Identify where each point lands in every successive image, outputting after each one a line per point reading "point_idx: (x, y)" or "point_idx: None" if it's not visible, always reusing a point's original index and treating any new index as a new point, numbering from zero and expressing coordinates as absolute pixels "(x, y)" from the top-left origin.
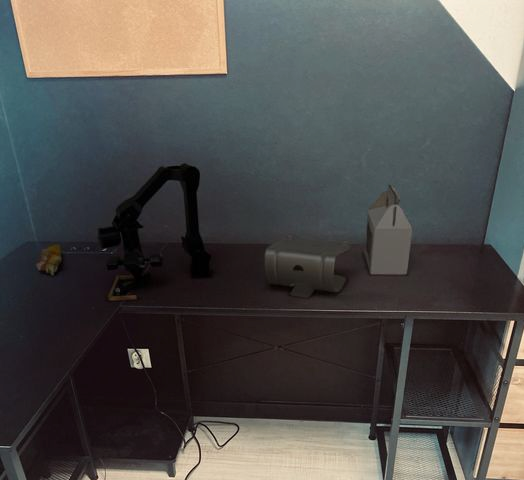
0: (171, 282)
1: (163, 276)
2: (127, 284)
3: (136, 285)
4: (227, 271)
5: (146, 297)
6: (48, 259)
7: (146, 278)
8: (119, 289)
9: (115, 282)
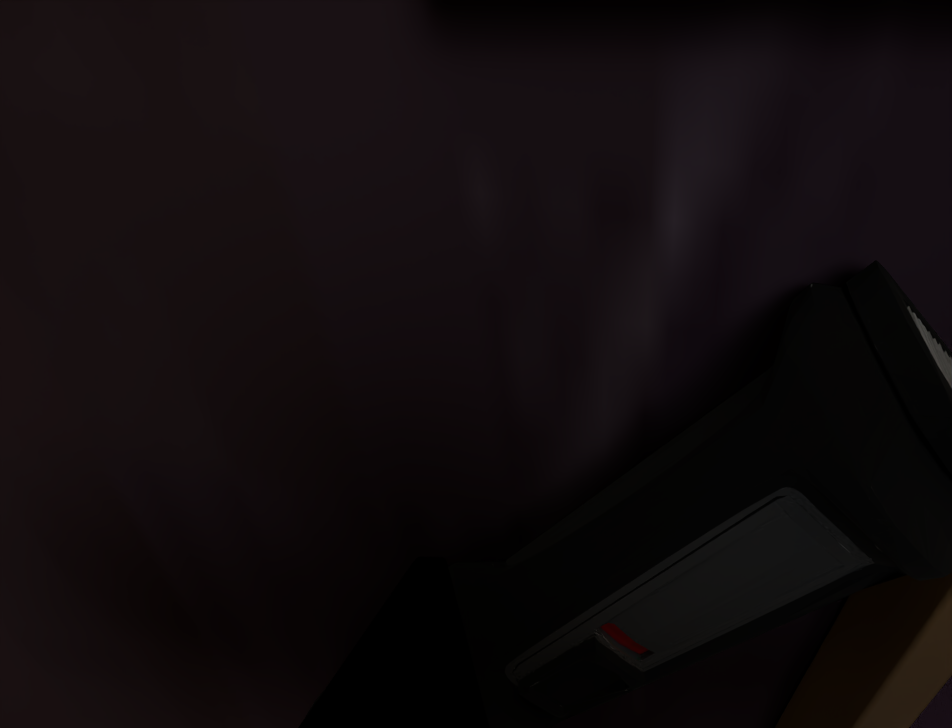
0: (29, 586)
1: (214, 723)
2: (689, 555)
3: (499, 564)
4: None
5: (182, 25)
6: None
7: None
8: (938, 368)
9: (899, 697)
